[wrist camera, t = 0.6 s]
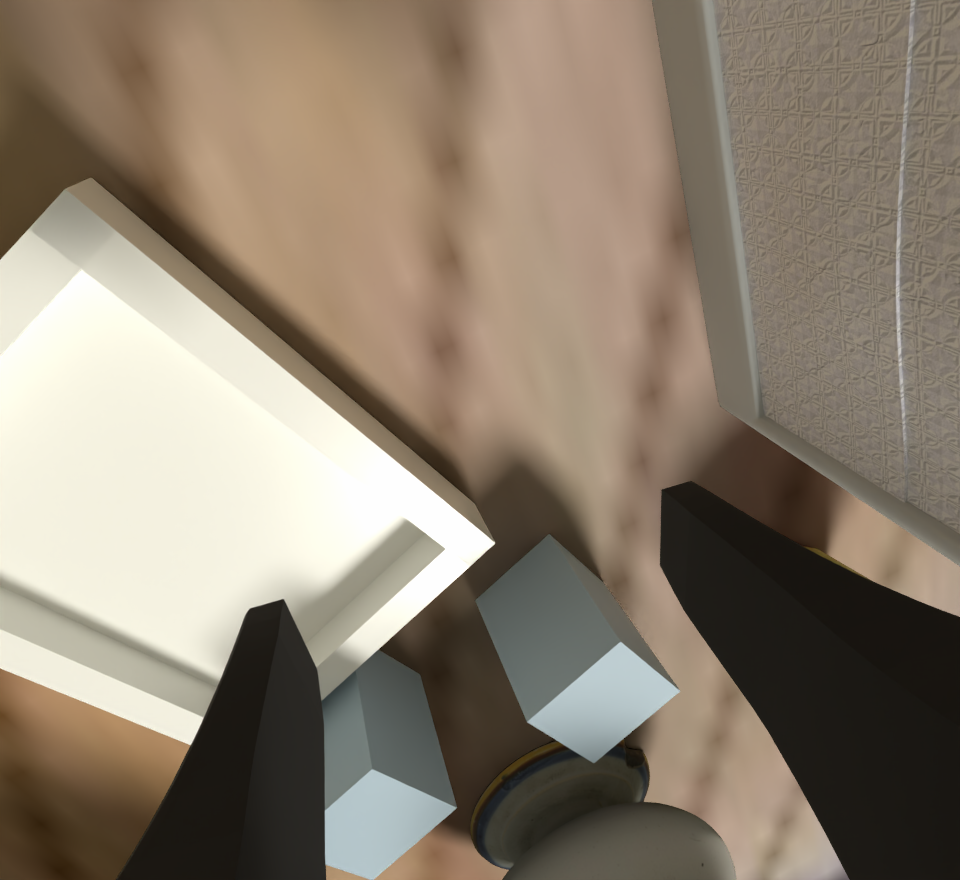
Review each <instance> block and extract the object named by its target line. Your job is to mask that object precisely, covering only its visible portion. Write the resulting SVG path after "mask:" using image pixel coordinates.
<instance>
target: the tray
mask: <svg viewBox="0 0 960 880" xmlns="http://www.w3.org/2000/svg"><path fill="white" fill-rule="evenodd" d="M494 544H495V541H494V539H493V537H492V535H491V534H490V532H489V530H488V528H487V526H486V524H485V522H484V520H483V518H482V516H481V515H480V513H479V511H478V509H477V507H476V505H475V503H473V502H472V501H471V500H470V499H469V498H468V497H466V496H465V495H464V494H463V493H462V492H460V491H459V490H458V489H457V488H456V487H455V486H453V485H452V484H451V483H450V482H449V481H448V480H446V479H445V478H444V477H443V476H442V475H441V474H439V473H438V472H437V471H436V470H435V469H433V468H432V467H431V466H430V465H429V464H428V463H426V462H425V461H424V460H423V459H422V458H421V457H419V456H418V455H417V454H416V453H415V452H413V451H412V450H411V449H410V448H409V447H408V446H406V445H405V444H404V443H403V442H402V441H401V440H399V439H398V438H397V437H396V436H395V435H394V434H392V433H391V432H390V431H389V430H388V429H386V428H385V427H384V426H383V425H382V424H381V423H379V422H378V421H377V420H376V419H375V418H374V417H372V416H371V415H370V414H369V413H368V412H366V411H365V410H364V409H363V408H362V407H361V406H359V405H358V404H357V403H356V402H355V401H354V400H352V399H351V398H350V397H349V396H348V395H347V394H345V393H344V392H343V391H342V390H341V389H339V388H338V387H337V386H336V385H335V384H334V383H332V382H331V381H330V380H329V379H328V378H327V377H325V376H324V375H323V374H322V373H321V372H319V371H318V370H317V369H316V368H315V367H314V366H312V365H311V364H310V363H309V362H308V361H307V360H305V359H304V358H303V357H302V356H301V355H300V354H298V353H297V352H296V351H295V350H294V349H292V348H291V347H290V346H289V345H288V344H287V343H285V342H284V341H283V340H282V339H281V338H280V337H278V336H277V335H276V334H275V333H274V332H273V331H271V330H270V329H269V328H268V327H267V326H265V325H264V324H263V323H262V322H261V321H260V320H258V319H257V318H256V317H255V316H254V315H253V314H251V313H250V312H249V311H248V310H247V309H245V308H244V307H243V306H242V305H241V304H240V303H238V302H237V301H236V300H235V299H234V298H233V297H231V296H230V295H229V294H228V293H227V292H226V291H224V290H223V289H222V288H221V287H220V286H218V285H217V284H216V283H215V282H214V281H213V280H211V279H210V278H209V277H208V276H207V275H206V274H204V273H203V272H202V271H201V270H200V269H198V268H197V267H196V266H195V265H194V264H193V263H191V262H190V261H189V260H188V259H187V258H186V257H184V256H183V255H182V254H181V253H180V252H179V251H177V250H176V249H175V248H174V247H173V246H171V245H170V244H169V243H168V242H167V241H166V240H164V239H163V238H162V237H161V236H160V235H159V234H157V233H156V232H155V231H154V230H153V229H151V228H150V227H149V226H148V225H147V224H146V223H144V222H143V221H142V220H141V219H140V218H139V217H137V216H136V215H135V214H134V213H133V212H132V211H130V210H129V209H128V208H127V207H126V206H124V205H123V204H122V203H121V202H120V201H119V200H117V199H116V198H115V197H114V196H113V195H112V194H110V193H109V192H108V191H107V190H106V189H104V188H103V187H102V186H101V185H100V184H99V183H97V182H96V181H95V180H94V179H93V178H92V177H91V178H88V179H86V180H84V181H82V182H79V183H77V184H75V185H73V186H70V187H68V188H66V189H64V191H63V192H62V193H61V194H60V195H59V196H58V197H57V198H56V199H55V200H54V201H53V203H52V204H51V205H50V206H49V207H48V208H47V209H46V210H45V211H44V212H43V214H42V215H41V216H40V217H39V218H38V219H37V220H36V221H35V222H34V223H33V225H32V226H31V227H30V228H29V229H28V230H27V231H26V232H25V233H24V234H23V236H22V237H21V238H20V239H19V240H18V241H17V242H16V243H15V244H14V245H13V247H12V248H11V249H10V250H9V251H8V252H7V253H6V254H5V255H4V256H3V258H2V259H1V260H0V668H1V669H3V670H6V671H8V672H11V673H13V674H16V675H18V676H21V677H23V678H26V679H28V680H31V681H33V682H36V683H38V684H41V685H43V686H45V687H48V688H50V689H53V690H55V691H58V692H60V693H63V694H65V695H68V696H70V697H73V698H75V699H78V700H80V701H83V702H85V703H88V704H90V705H93V706H95V707H98V708H100V709H102V710H105V711H107V712H110V713H112V714H115V715H117V716H120V717H122V718H125V719H127V720H130V721H132V722H135V723H137V724H140V725H142V726H145V727H147V728H150V729H152V730H155V731H157V732H159V733H162V734H164V735H167V736H169V737H172V738H174V739H177V740H179V741H182V742H184V743H187V744H189V745H191V744H192V742H193V740H194V738H195V736H196V734H197V731H198V729H199V727H200V725H201V723H202V720H203V718H204V716H205V714H206V711H207V709H208V707H209V704H210V702H211V700H212V698H213V695H214V693H215V691H216V689H217V686H218V684H219V682H220V679H221V677H222V674H223V672H224V669H225V667H226V664H227V662H228V659H229V657H230V654H231V652H232V649H233V646H234V644H235V641H236V638H237V636H238V633H239V630H240V628H241V625H242V622H243V619H244V617H245V614H246V613H247V611H248V610H249V609H250V608H253V607H257V606H260V605H264V604H267V603H271V602H274V601H278V600H281V599H284V600H285V602H286V604H287V606H288V609H289V611H290V613H291V615H292V617H293V619H294V621H295V623H296V625H297V628H298V630H299V632H300V634H301V636H302V638H303V640H304V642H305V644H306V647H307V649H308V651H309V653H310V655H311V657H312V659H313V661H314V663H315V666H316V668H317V671H318V678H319V686H320V694H321V701H322V700H323V699H324V698H325V697H326V696H328V695H329V694H330V693H331V692H332V691H333V690H334V689H335V688H336V687H337V686H339V685H340V684H341V683H342V682H343V681H344V680H345V679H346V678H347V677H348V676H350V675H351V674H352V673H353V672H354V671H355V670H356V669H357V668H358V667H360V666H361V665H362V664H363V663H364V662H365V661H366V660H367V659H368V658H369V657H371V656H372V655H373V654H374V653H375V652H376V651H377V650H378V649H379V648H380V647H382V646H383V645H384V644H385V643H386V642H387V641H388V640H389V639H390V638H392V637H393V636H394V635H395V634H396V633H397V632H398V631H399V630H400V629H401V628H403V627H404V626H405V625H406V624H407V623H408V622H409V621H410V620H411V619H412V618H414V617H415V616H416V615H417V614H418V613H419V612H420V611H421V610H422V609H424V608H425V607H426V606H427V605H428V604H429V603H430V602H431V601H432V600H433V599H435V598H436V597H437V596H438V595H439V594H440V593H441V592H442V591H443V590H444V589H446V588H447V587H448V586H449V585H450V584H451V583H452V582H453V581H454V580H456V579H457V578H458V577H459V576H460V575H461V574H462V573H463V572H464V571H465V570H467V569H468V568H469V567H470V566H471V565H472V564H473V563H474V562H475V561H476V560H478V559H479V558H480V557H481V556H482V555H483V554H484V553H485V552H486V551H487V550H489V549H490V548H491V547H492V546H493V545H494Z"/></svg>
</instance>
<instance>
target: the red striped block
mask: <svg viewBox="0 0 960 880" xmlns="http://www.w3.org/2000/svg"><path fill="white" fill-rule="evenodd" d="M652 5H653V11H654V17H655V23H656V29H657V35H658V41H659V47H660V53H661V59H662V65H663V71H664V77H665V83H666V89H667V95H668V101H669V107H670V113H671V119H672V125H673V131H674V137H675V143H676V149H677V155H678V161H679V167H680V173H681V179H682V185H683V191H684V197H685V203H686V209H687V215H688V221H689V227H690V233H691V239H692V245H693V251H694V257H695V263H696V269H697V275H698V281H699V287H700V293H701V299H702V305H703V311H704V318H705V324H706V330H707V336H708V342H709V348H710V354H711V360H712V366H713V372H714V378H715V384H716V390H717V396H718V401H719V404H720V406H721V407H722V408H723V409H725V410H726V411H728V412H729V413H731V414H732V415H734V416H735V417H737V418H738V419H740V420H741V421H743V422H744V423H746V424H747V425H749V426H750V427H752V428H753V429H755V430H756V431H758V432H759V433H761V434H762V435H764V436H765V437H767V438H768V439H770V440H771V441H773V442H774V443H776V444H777V445H779V446H780V447H782V448H783V449H785V450H786V451H788V452H789V453H791V454H792V455H794V456H795V457H797V458H798V459H800V460H801V461H803V462H804V463H806V464H807V465H809V466H810V467H812V468H813V469H815V470H816V471H818V472H819V473H821V474H822V475H824V476H825V477H827V478H828V479H830V480H831V481H833V482H834V483H836V484H837V485H839V486H840V487H842V488H843V489H845V490H846V491H848V492H849V493H851V494H852V495H854V496H855V497H857V498H858V499H860V500H861V501H863V502H864V503H866V504H867V505H869V506H870V507H872V508H873V509H875V510H876V511H878V512H879V513H881V514H882V515H884V516H885V517H887V518H888V519H890V520H891V521H893V522H894V523H896V524H897V525H899V526H900V527H902V528H903V529H905V530H906V531H908V532H909V533H911V534H912V535H914V536H915V537H917V538H918V539H920V540H921V541H923V542H924V543H926V544H927V545H929V546H930V547H932V548H933V549H935V550H936V551H938V552H939V553H941V554H942V555H944V556H945V557H947V558H948V559H950V560H951V561H953V562H954V563H956V564H957V565H959V566H960V0H652Z"/></svg>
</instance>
